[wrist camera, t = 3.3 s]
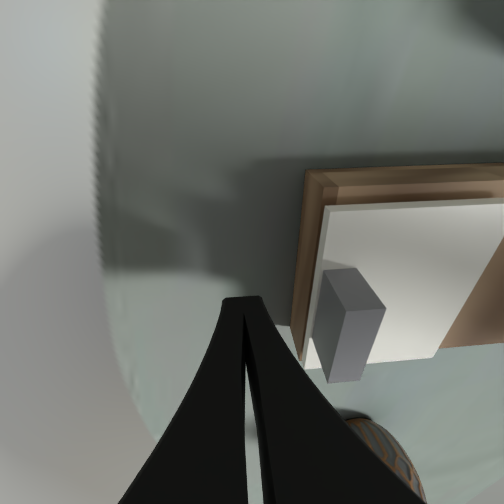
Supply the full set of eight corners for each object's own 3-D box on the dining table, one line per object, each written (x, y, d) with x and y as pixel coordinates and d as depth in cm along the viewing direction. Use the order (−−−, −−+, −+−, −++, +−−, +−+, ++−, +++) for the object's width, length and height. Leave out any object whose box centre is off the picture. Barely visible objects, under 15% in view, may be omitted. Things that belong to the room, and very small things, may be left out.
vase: (310, 418, 21) (357, 595, 14) (393, 402, 21) (486, 572, 14) (314, 451, 25) (353, 605, 17) (385, 438, 25) (454, 586, 17)
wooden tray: (623, 158, 11) (704, 172, 9) (512, 309, 16) (550, 338, 14) (305, 169, 10) (324, 187, 8) (290, 327, 15) (299, 360, 13)
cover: (509, 197, 9) (600, 231, 7) (425, 348, 13) (464, 399, 11) (324, 205, 8) (359, 245, 6) (301, 359, 12) (317, 414, 10)
